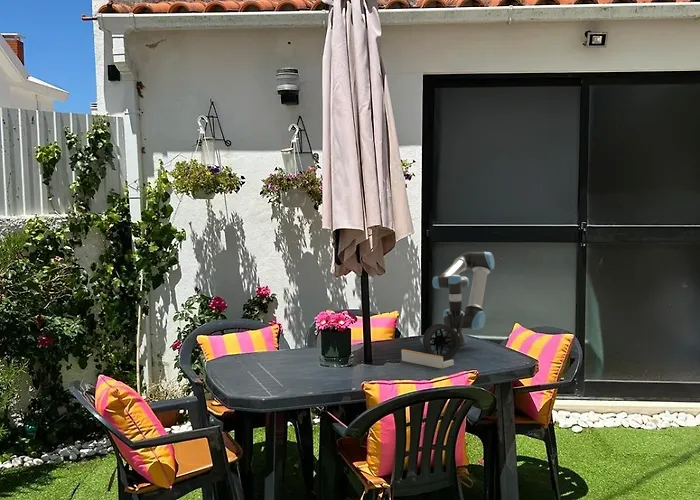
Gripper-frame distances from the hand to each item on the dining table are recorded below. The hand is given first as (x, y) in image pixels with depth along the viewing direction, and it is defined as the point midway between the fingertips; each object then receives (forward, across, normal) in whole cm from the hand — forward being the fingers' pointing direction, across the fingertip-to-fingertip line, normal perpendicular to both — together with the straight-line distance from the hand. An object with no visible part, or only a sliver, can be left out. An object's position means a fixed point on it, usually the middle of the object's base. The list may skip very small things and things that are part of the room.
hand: (456, 339), depth 392 cm
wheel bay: (+10, 0, -27) cm, 29 cm away
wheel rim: (+10, 0, -14) cm, 17 cm away
